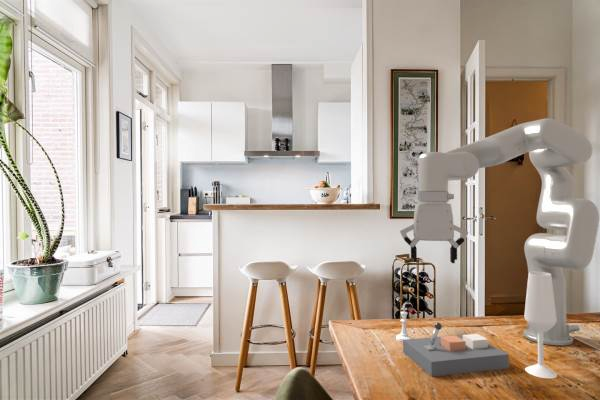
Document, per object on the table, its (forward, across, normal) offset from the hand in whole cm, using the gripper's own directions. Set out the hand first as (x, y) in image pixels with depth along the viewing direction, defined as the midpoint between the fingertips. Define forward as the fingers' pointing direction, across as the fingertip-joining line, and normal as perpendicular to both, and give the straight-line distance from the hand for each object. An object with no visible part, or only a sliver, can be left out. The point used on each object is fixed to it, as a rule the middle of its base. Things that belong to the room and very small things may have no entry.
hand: (433, 262), depth 104 cm
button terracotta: (+22, -5, +1) cm, 23 cm away
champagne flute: (+26, -24, +4) cm, 35 cm away
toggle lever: (+21, +1, +4) cm, 22 cm away
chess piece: (+26, +8, -12) cm, 29 cm away
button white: (+22, -10, -1) cm, 25 cm away
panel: (+25, -5, +1) cm, 26 cm away
